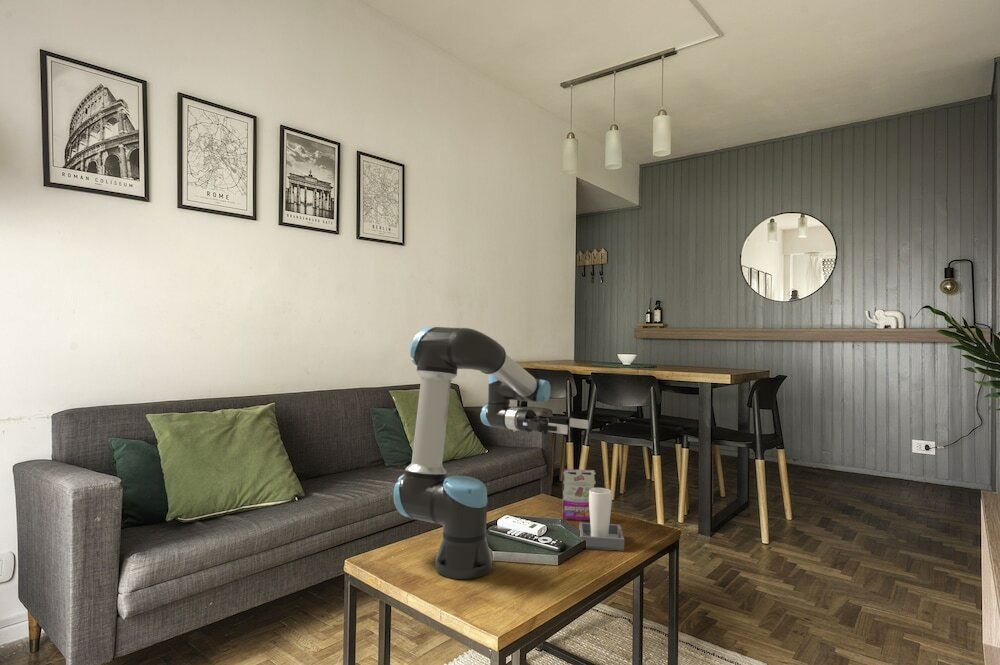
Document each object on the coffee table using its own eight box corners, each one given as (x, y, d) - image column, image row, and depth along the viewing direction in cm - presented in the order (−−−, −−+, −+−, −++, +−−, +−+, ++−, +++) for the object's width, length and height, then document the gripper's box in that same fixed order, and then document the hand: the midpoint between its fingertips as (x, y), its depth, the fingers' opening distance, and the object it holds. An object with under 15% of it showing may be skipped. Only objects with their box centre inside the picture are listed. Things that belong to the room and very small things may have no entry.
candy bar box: (594, 517, 194) (595, 469, 194) (595, 521, 189) (596, 473, 189) (562, 515, 195) (563, 468, 195) (562, 520, 190) (563, 471, 190)
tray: (580, 548, 165) (580, 536, 165) (579, 533, 177) (579, 522, 177) (624, 551, 163) (624, 539, 163) (619, 535, 176) (619, 524, 176)
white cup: (609, 536, 173) (610, 487, 173) (611, 544, 166) (612, 494, 166) (587, 535, 174) (588, 486, 174) (588, 543, 167) (589, 493, 167)
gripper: (541, 426, 198) (595, 433, 186) (499, 435, 178) (557, 444, 166) (541, 405, 198) (595, 411, 186) (500, 412, 178) (557, 419, 166)
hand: (577, 427), depth 176 cm, fingers open, 13 cm apart
